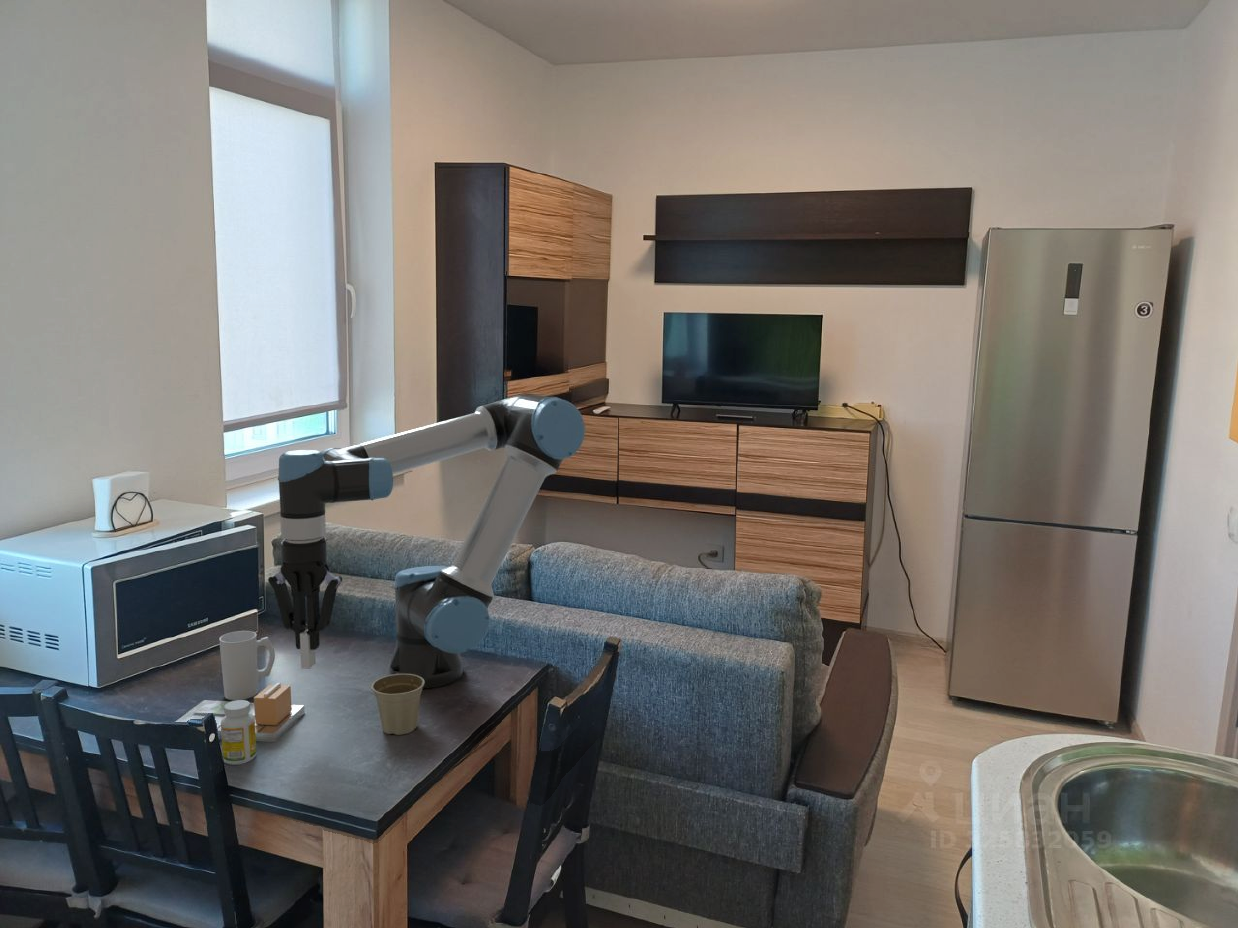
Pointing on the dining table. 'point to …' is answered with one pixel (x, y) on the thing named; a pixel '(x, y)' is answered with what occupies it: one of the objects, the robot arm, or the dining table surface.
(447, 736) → the dining table surface
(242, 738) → the supplement bottle
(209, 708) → the console
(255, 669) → the mug
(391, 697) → the flower pot
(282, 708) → the cardboard box
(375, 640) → the dining table surface
